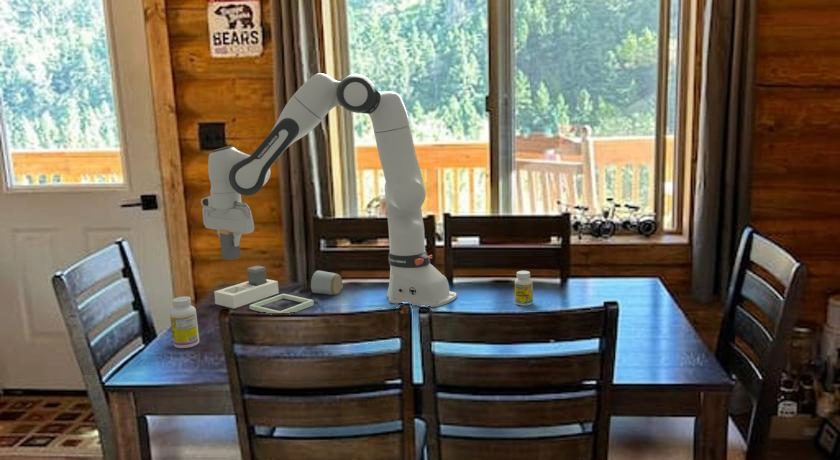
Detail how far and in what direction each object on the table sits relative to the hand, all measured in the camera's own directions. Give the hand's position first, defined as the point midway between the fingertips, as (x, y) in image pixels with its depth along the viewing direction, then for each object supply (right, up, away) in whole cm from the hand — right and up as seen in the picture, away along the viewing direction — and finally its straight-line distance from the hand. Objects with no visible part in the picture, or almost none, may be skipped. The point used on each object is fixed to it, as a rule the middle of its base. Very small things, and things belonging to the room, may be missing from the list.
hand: (230, 245), depth 222 cm
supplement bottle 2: (+89, -18, -6) cm, 91 cm away
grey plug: (0, -4, +1) cm, 4 cm away
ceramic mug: (+29, -16, +13) cm, 35 cm away
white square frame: (+16, -20, -2) cm, 26 cm away
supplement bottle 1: (-4, -26, -28) cm, 39 cm away
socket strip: (+4, -18, +8) cm, 20 cm away
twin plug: (+6, -16, +11) cm, 21 cm away
